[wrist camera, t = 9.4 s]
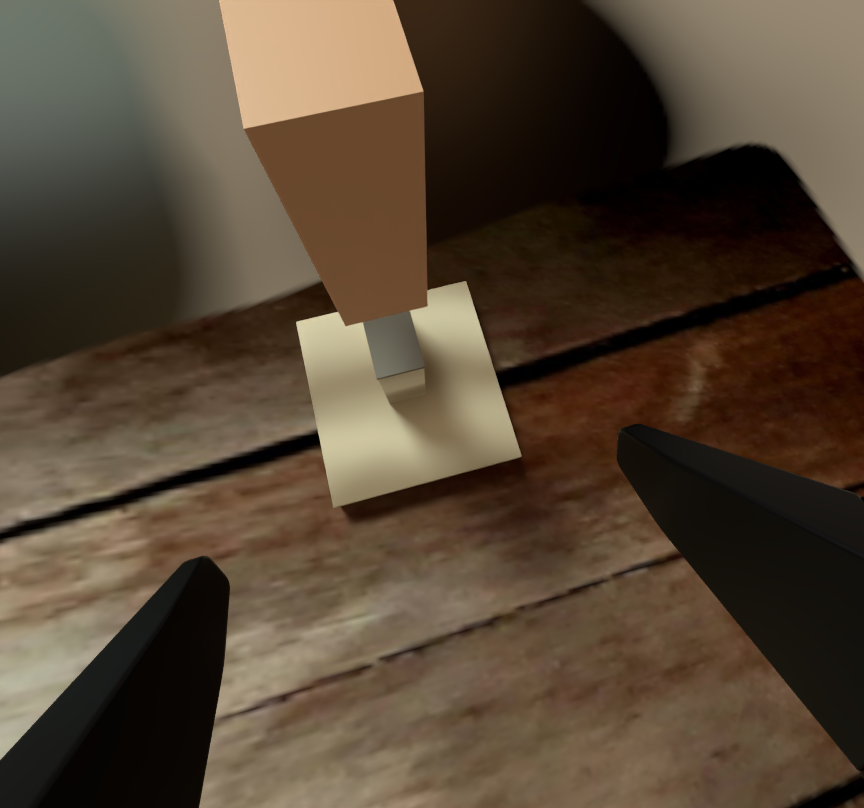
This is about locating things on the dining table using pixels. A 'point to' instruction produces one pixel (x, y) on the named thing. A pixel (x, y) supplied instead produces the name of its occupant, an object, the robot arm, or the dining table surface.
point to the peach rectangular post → (339, 141)
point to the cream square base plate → (405, 397)
